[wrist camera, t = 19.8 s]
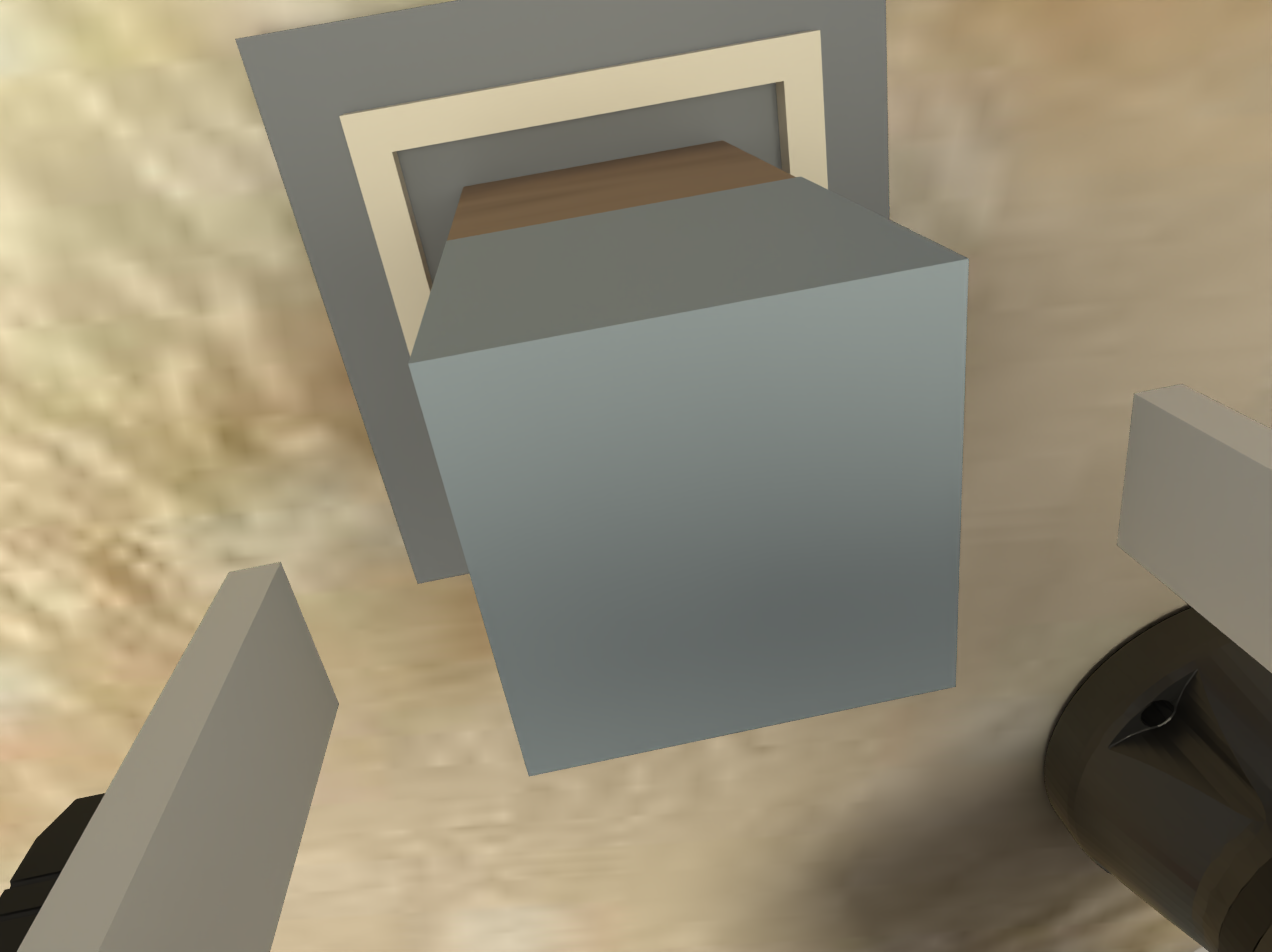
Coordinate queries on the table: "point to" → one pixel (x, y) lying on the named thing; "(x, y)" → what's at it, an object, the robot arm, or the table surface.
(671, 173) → the walnut block
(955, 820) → the table surface
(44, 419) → the table surface
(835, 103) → the grey square base plate
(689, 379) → the slate blue block
